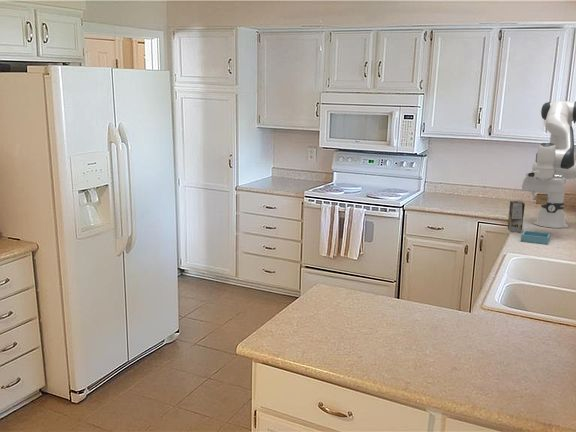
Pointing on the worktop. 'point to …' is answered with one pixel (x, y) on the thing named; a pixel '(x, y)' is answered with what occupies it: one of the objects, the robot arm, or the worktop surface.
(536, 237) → the tray
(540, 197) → the walnut block
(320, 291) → the worktop surface
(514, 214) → the coffee box
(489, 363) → the worktop surface
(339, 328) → the worktop surface
